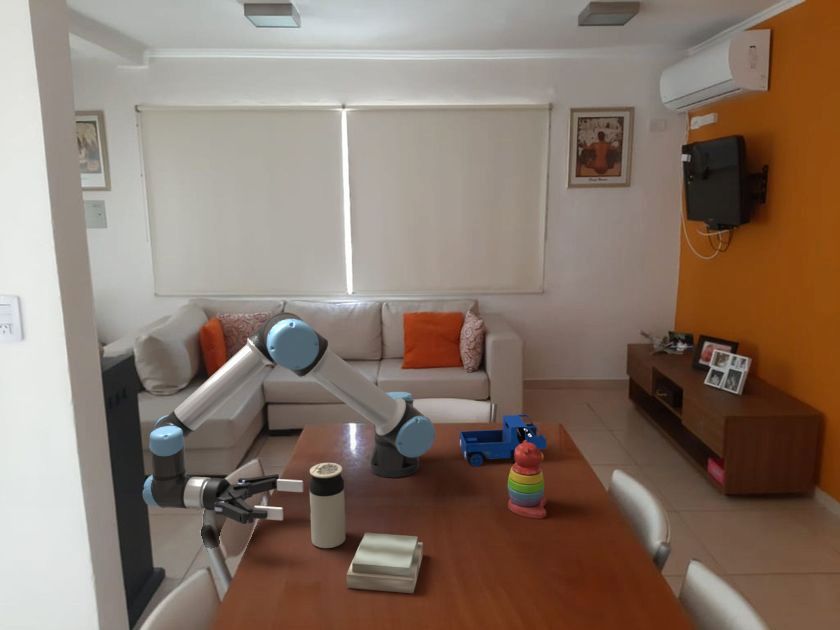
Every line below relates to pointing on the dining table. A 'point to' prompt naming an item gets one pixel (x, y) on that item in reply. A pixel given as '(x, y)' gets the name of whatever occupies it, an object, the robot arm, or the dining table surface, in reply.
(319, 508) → the travel mug
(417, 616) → the dining table surface
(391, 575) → the plinth
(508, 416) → the toy vehicle
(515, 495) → the stacking bear
